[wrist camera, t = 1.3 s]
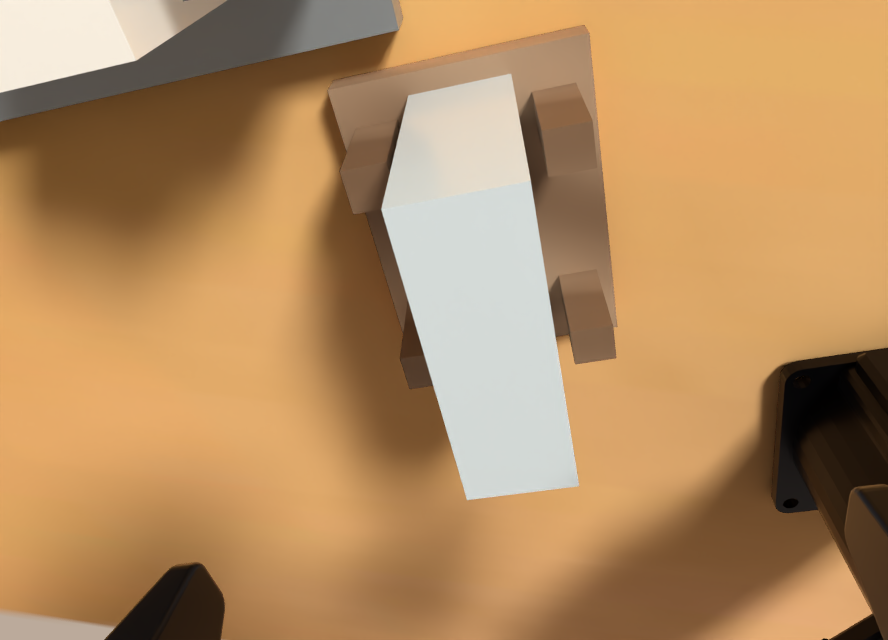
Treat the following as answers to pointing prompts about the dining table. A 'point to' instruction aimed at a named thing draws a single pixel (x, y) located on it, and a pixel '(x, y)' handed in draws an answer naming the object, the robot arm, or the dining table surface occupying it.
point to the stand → (549, 161)
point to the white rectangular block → (85, 34)
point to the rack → (217, 48)
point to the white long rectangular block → (480, 287)
